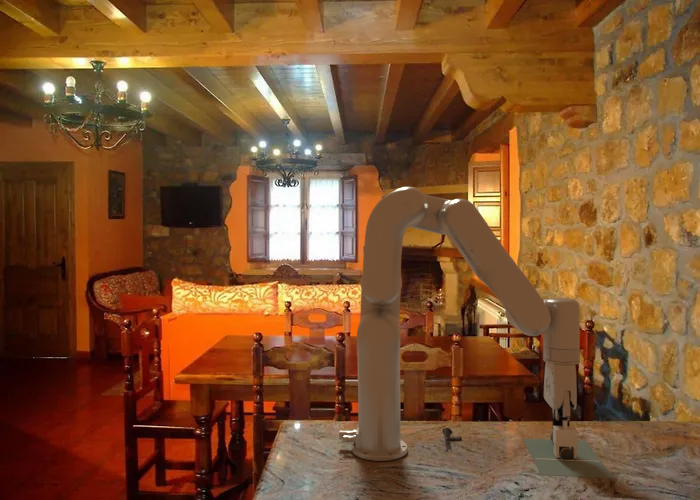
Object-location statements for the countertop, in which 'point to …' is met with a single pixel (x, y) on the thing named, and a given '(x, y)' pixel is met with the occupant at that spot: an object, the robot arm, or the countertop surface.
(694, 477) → the countertop surface
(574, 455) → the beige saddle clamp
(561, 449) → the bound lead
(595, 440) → the countertop surface
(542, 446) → the cutting mat
